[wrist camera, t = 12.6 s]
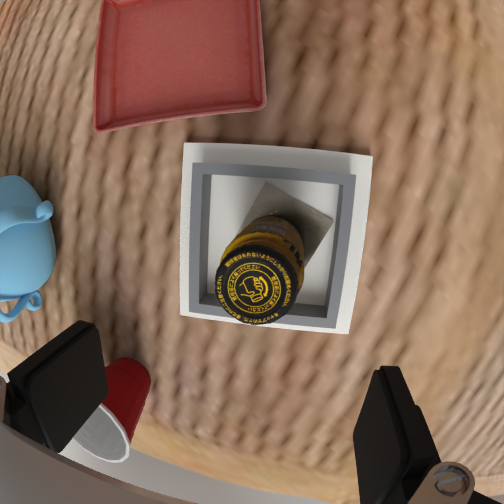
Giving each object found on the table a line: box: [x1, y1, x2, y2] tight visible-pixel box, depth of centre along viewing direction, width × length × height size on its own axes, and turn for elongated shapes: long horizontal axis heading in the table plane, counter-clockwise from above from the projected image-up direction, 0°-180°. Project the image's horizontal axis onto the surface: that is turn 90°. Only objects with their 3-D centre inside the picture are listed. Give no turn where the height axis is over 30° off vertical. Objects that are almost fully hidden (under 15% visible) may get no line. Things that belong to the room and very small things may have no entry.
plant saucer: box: [93, 0, 267, 134], centre depth 27 cm, size 18×18×3 cm
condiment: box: [215, 182, 334, 325], centre depth 25 cm, size 7×8×12 cm
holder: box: [180, 143, 373, 334], centre depth 30 cm, size 18×18×4 cm
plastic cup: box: [72, 358, 151, 462], centre depth 33 cm, size 11×11×12 cm
